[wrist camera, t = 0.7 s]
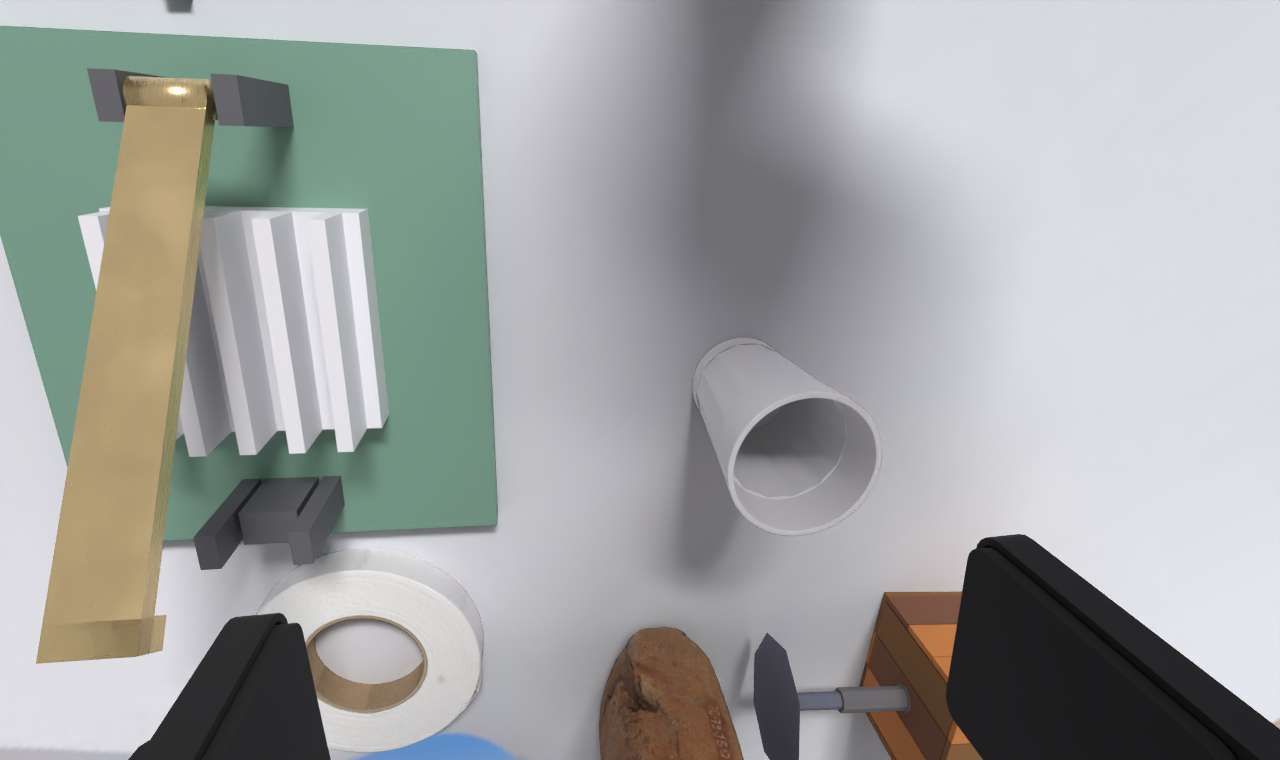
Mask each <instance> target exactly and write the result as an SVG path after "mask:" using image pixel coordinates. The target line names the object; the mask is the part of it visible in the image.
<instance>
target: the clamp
mask: <svg viewBox="0 0 1280 760" xmlns="http://www.w3.org/2000/svg"><path fill="white" fill-rule="evenodd" d="M961 597H962V592H884V596H883V599H882V603H881V607H880V611H879V615H878V618H877V622H876V626H875V631H874V633H873V637H872V641H871V645H870V648H869V652H868V656H867V660H866V664H865V667H864V671H863V675H862V679H861V682H860V686H859V687H845V688H837V689H836V690H835V691H834V692H807V693H797V691H796V688H795V684H794V680H793V676H792V672H791V669H790V665H789V661H788V657H787V653H786V650H785V649H784V648H783V647H782V646H781V645H779V644H778V643H777V642H776V641H775V640H774V639H773V638H772V637H771V636H770V635H769V634H768V633H767V634H766V635H765V637H764V639H763V641H762V642H761V644H760V646H759V648H758V649H757V651H756V653H755V662H754V706H755V710H756V715H757V720H758V724H759V729H760V734H761V738H762V743H763V748H764V752H765V753H766V755H767V756H768V758H769V759H770V760H799V724H800V711H804V710H832V709H837V710H838V711H839V712H840V713H856V712H865V713H866V714H867V716H868V718H869V720H870V722H871V723H872V725H873V727H874V729H875V730H876V732H877V733H878V736H879V738H880V739H881V741H882V743H883V745H884V746H885V748H886V750H887V752H888V754H889V755H890V757H891V759H892V760H983V759H982V758H981V756H980V755H979V754H978V752H977V751H976V750H975V748H974V747H973V746H972V744H971V743H970V742H969V740H968V739H967V738H966V736H965V735H964V734H963V732H962V731H961V730H960V728H959V727H958V726H957V724H956V723H955V722H954V720H953V718H952V717H951V714H950V712H949V710H948V706H947V702H946V688H947V682H948V676H949V670H950V664H951V658H952V652H953V646H954V640H955V633H956V627H957V621H958V615H959V609H960V603H961Z"/></svg>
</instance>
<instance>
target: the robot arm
mask: <svg viewBox="0 0 1280 760" xmlns="http://www.w3.org/2000/svg"><path fill="white" fill-rule="evenodd" d="M946 702H947V706H948V710H949V712H950V714H951V717H952V718H953V720H954V722H955V723H956V724H957V726H958V727H959V728H960V730H961V731H962V732H963V734H964V735H965V736H966V738H967V739H968V740H969V742H970V743H971V744H972V746H973V747H974V748H975V750H976V751H977V752H978V754H979V755H980V756H981V758H982V759H983V760H1280V729H1279V728H1277V727H1276V726H1275V725H1274V724H1272V723H1271V722H1270V721H1268V720H1267V719H1266V718H1264V717H1263V716H1262V715H1261V714H1259V713H1258V712H1257V711H1255V710H1254V709H1253V708H1251V707H1250V706H1249V705H1247V704H1246V703H1245V702H1244V701H1242V700H1241V699H1240V698H1238V697H1237V696H1236V695H1234V694H1233V693H1232V692H1231V691H1229V690H1228V689H1227V688H1225V687H1224V686H1223V685H1221V684H1220V683H1219V682H1217V681H1216V680H1215V679H1214V678H1212V677H1211V676H1210V675H1208V674H1207V673H1206V672H1204V671H1203V670H1202V669H1201V668H1199V667H1198V666H1197V665H1195V664H1194V663H1193V662H1191V661H1190V660H1189V659H1188V658H1186V657H1185V656H1184V655H1182V654H1181V653H1180V652H1178V651H1177V650H1176V649H1174V648H1173V647H1172V646H1171V645H1169V644H1168V643H1167V642H1165V641H1164V640H1163V639H1161V638H1160V637H1159V636H1158V635H1156V634H1155V633H1154V632H1152V631H1151V630H1150V629H1148V628H1147V627H1146V626H1145V625H1143V624H1142V623H1141V622H1139V621H1138V620H1137V619H1135V618H1134V617H1133V616H1131V615H1130V614H1129V613H1128V612H1126V611H1125V610H1124V609H1122V608H1121V607H1120V606H1118V605H1117V604H1116V603H1115V602H1113V601H1112V600H1111V599H1109V598H1108V597H1107V596H1105V595H1104V594H1103V593H1102V592H1100V591H1099V590H1098V589H1096V588H1095V587H1094V586H1092V585H1091V584H1090V583H1088V582H1087V581H1086V580H1085V579H1083V578H1082V577H1081V576H1079V575H1078V574H1077V573H1075V572H1074V571H1073V570H1072V569H1070V568H1069V567H1068V566H1066V565H1065V564H1064V563H1062V562H1061V561H1060V560H1059V559H1057V558H1056V557H1055V556H1053V555H1052V554H1051V553H1049V552H1048V551H1047V550H1045V549H1044V548H1043V547H1042V546H1040V545H1039V544H1038V543H1036V542H1035V541H1034V540H1032V539H1031V538H1029V537H1027V536H1026V535H1020V534H1017V535H1007V536H998V537H989V538H984V539H982V540H981V541H980V542H979V543H978V545H977V548H976V549H974V550H972V551H971V552H970V554H969V556H968V560H967V566H966V572H965V578H964V585H963V591H962V597H961V603H960V609H959V615H958V621H957V627H956V633H955V640H954V646H953V652H952V658H951V664H950V670H949V676H948V682H947V688H946ZM128 760H330V755H329V750H328V746H327V741H326V737H325V732H324V727H323V723H322V718H321V713H320V709H319V704H318V699H317V695H316V690H315V685H314V681H313V676H312V671H311V667H310V662H309V658H308V653H307V648H306V644H305V639H304V634H303V631H302V627H301V626H300V624H299V623H288V622H287V619H286V617H285V616H284V614H282V613H272V614H262V615H253V616H243V617H235V618H232V619H230V620H229V621H228V622H227V623H226V625H225V626H224V627H223V629H222V630H221V632H220V634H219V635H218V637H217V638H216V640H215V641H214V643H213V644H212V646H211V647H210V649H209V650H208V652H207V654H206V655H205V657H204V658H203V660H202V661H201V663H200V664H199V666H198V667H197V669H196V670H195V672H194V674H193V675H192V677H191V678H190V680H189V681H188V683H187V684H186V686H185V687H184V689H183V691H182V692H181V694H180V695H179V697H178V698H177V700H176V701H175V703H174V704H173V706H172V707H171V709H170V711H169V712H168V714H167V715H166V717H165V718H164V720H163V721H162V723H161V724H160V726H159V727H158V729H157V731H156V732H155V734H154V735H153V737H152V738H151V740H149V741H147V742H146V743H144V744H143V745H141V746H140V747H138V749H137V750H136V751H135V752H134V753H133V755H132V756H131V757H130V758H129V759H128Z"/></svg>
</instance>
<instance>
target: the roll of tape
mask: <svg viewBox="0 0 1280 760" xmlns="http://www.w3.org/2000/svg"><path fill="white" fill-rule="evenodd" d="M272 613H282V614H284V616H285V617H286V619H287V622H288V623H299V624H300V626H301V627H302V631H303V634H304V639H305V644H306V648H307V653H308V658H309V662H310V667H311V671H312V676H313V681H314V685H315V690H316V695H317V699H318V704H319V709H320V713H321V718H322V723H323V727H324V732H325V737H326V741H327V746H328V748H332V749H337V750H343V751H352V752H379V751H387V750H393V749H397V748H402V747H405V746H408V745H411V744H414V743H416V742H419V741H421V740H423V739H426V738H428V737H430V736H432V735H434V734H436V733H437V732H439V731H440V730H442V729H443V728H445V727H446V726H447V725H449V724H450V723H451V722H452V721H453V720H454V719H455V718H456V717H457V716H458V715H459V714H460V713H461V712H463V711H464V710H465V708H466V707H467V706H468V705H469V703H470V702H471V701H472V700H473V698H474V697H475V696H476V694H477V693H478V691H479V690H480V685H481V680H482V665H481V659H482V652H483V643H484V632H483V625H482V621H481V617H480V614H479V612H478V609H477V607H476V605H475V603H474V602H473V600H472V598H471V597H470V595H469V594H468V593H467V591H466V590H465V589H464V588H463V587H462V585H461V584H460V583H459V582H458V581H456V580H455V579H454V578H453V577H452V576H450V575H449V574H448V573H446V572H445V571H444V570H442V569H441V568H439V567H438V566H436V565H434V564H432V563H430V562H428V561H426V560H423V559H421V558H418V557H415V556H413V555H409V554H406V553H402V552H397V551H392V550H383V549H354V550H346V551H340V552H334V553H331V554H327V555H324V556H321V557H318V558H316V560H315V562H314V564H303V565H301V566H299V567H298V568H296V569H295V570H293V571H292V572H290V573H289V574H288V575H286V576H285V577H284V578H283V579H282V580H281V581H280V582H279V583H278V584H277V585H276V586H275V587H274V588H273V589H272V591H271V592H270V593H269V595H268V596H267V598H266V599H265V601H264V602H263V604H262V606H261V607H260V609H259V611H258V612H257V614H256V615H262V614H272ZM357 618H369V619H376V620H381V621H384V622H388V623H390V624H393V625H395V626H397V627H399V628H400V629H402V630H404V631H405V632H406V633H407V634H409V635H410V636H411V637H412V638H413V639H414V641H415V642H416V643H417V645H418V646H419V648H420V650H421V652H422V657H423V661H422V663H421V664H420V665H419V666H418V667H417V668H416V669H415V670H414V671H413V672H411V673H410V674H408V675H407V676H405V677H403V678H401V679H398V680H396V681H392V682H388V683H383V684H362V683H356V682H352V681H349V680H346V679H344V678H342V677H340V676H338V675H336V674H335V673H333V672H332V671H331V670H329V669H328V668H327V667H326V666H325V665H324V663H323V662H322V661H321V659H320V658H319V656H318V654H317V652H316V648H315V643H314V637H315V636H316V635H317V634H318V633H319V632H320V631H321V630H323V629H324V628H326V627H328V626H330V625H332V624H335V623H337V622H340V621H343V620H348V619H357Z"/></svg>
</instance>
